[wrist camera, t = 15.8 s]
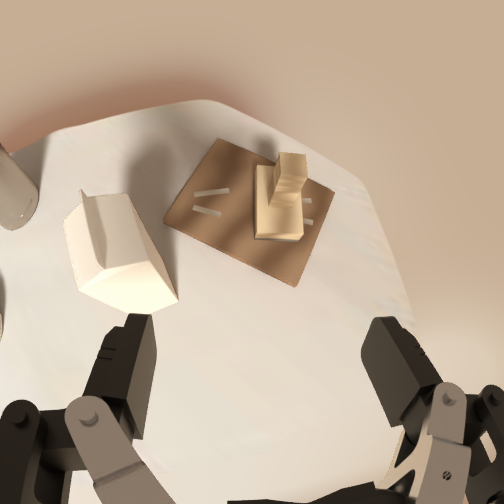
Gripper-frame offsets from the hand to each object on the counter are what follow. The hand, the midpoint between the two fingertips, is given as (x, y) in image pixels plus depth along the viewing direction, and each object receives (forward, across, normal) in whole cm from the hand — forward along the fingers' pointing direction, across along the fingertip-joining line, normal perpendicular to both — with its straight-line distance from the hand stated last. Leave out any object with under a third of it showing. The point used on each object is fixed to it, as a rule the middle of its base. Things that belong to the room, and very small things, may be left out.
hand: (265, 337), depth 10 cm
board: (+34, -3, +7) cm, 35 cm away
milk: (+25, +10, +16) cm, 31 cm away
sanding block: (+33, -6, +6) cm, 34 cm away
